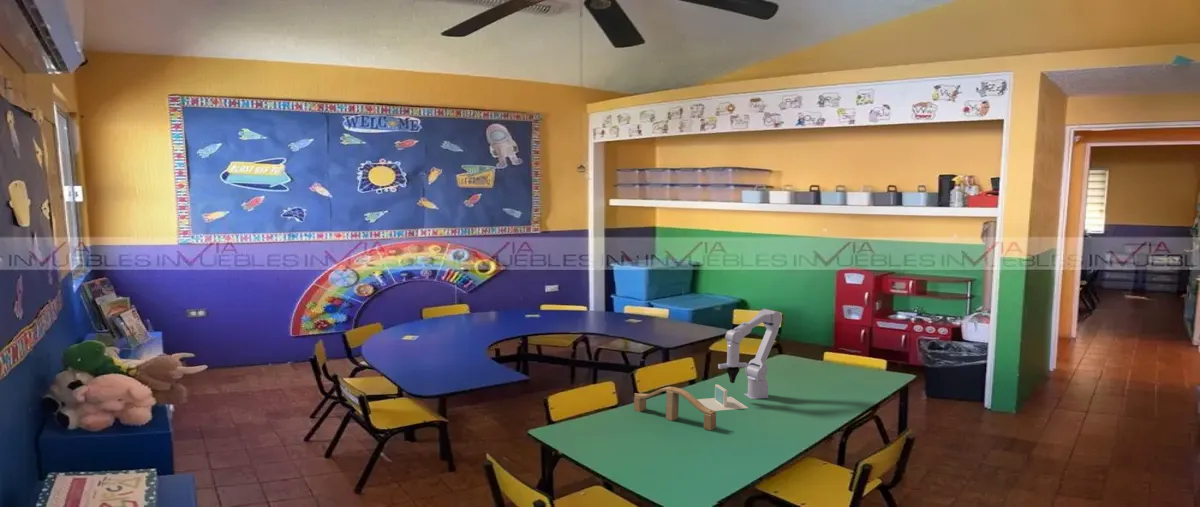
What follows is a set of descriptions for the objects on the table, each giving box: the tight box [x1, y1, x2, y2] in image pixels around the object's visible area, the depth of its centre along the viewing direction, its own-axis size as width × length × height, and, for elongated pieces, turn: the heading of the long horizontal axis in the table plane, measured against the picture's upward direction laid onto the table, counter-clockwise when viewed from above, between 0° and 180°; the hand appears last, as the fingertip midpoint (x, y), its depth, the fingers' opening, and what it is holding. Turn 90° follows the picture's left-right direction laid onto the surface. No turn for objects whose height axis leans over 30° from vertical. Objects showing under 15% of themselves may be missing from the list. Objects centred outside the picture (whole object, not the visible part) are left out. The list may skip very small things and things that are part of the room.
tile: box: [714, 384, 728, 407], centre depth 340 cm, size 2×10×8 cm, turn 16°
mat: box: [696, 396, 749, 412], centre depth 340 cm, size 22×18×1 cm
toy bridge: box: [633, 386, 717, 431], centre depth 319 cm, size 42×6×14 cm, turn 50°
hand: (732, 382), depth 344 cm, fingers closed
